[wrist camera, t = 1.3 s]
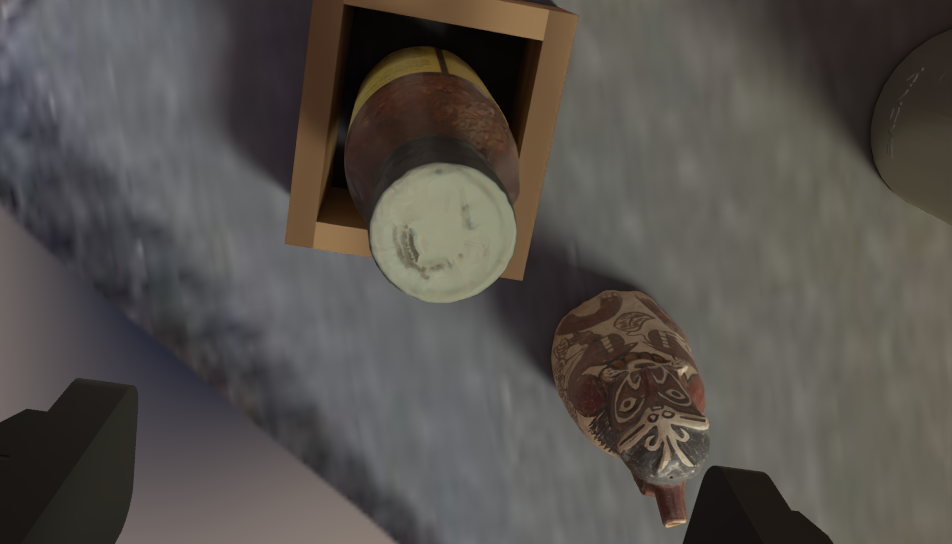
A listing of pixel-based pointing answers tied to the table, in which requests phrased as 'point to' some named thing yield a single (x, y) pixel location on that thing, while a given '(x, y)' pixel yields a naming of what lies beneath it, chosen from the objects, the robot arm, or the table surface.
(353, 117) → the sauce bottle
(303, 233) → the square holder
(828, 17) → the table surface
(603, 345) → the figurine
